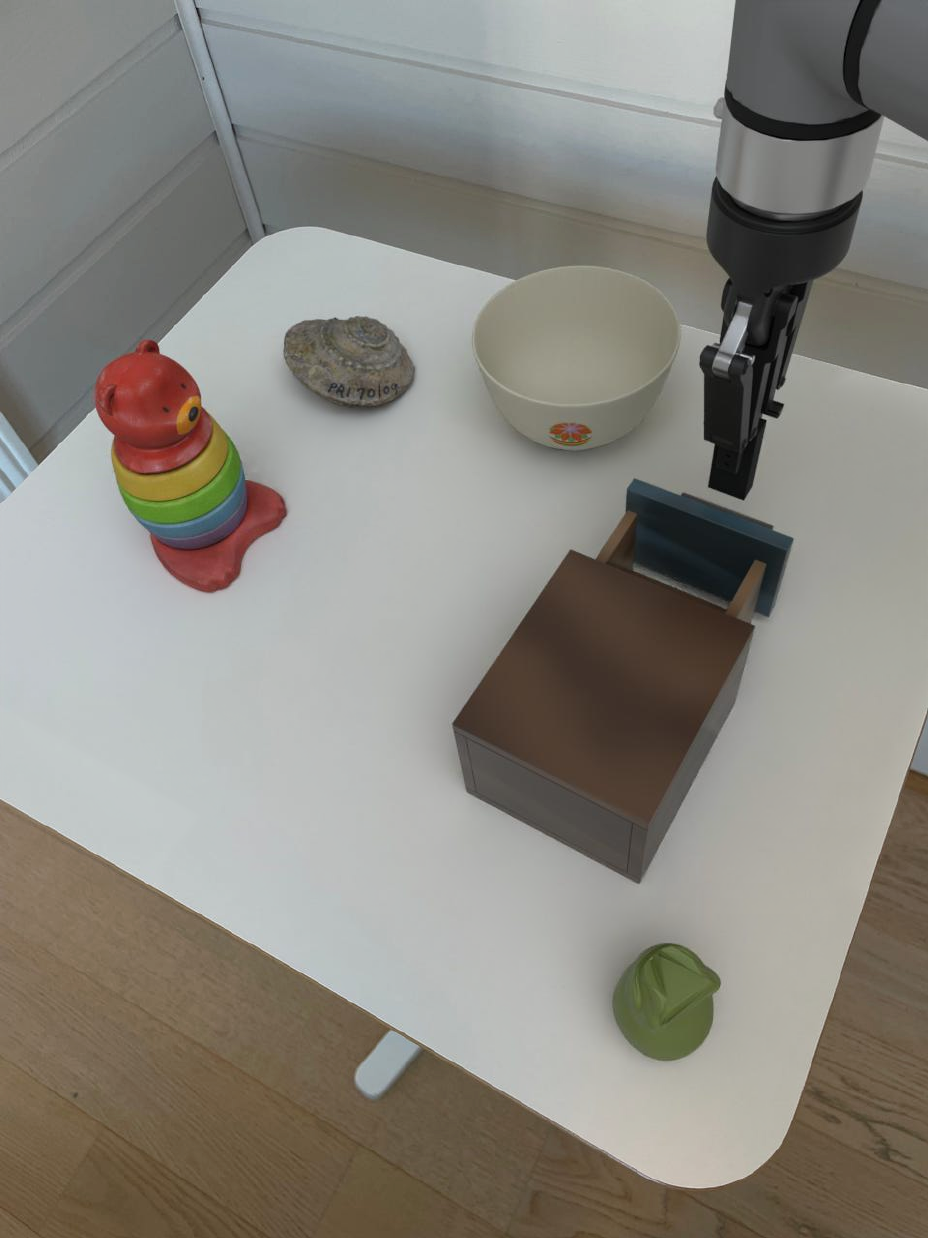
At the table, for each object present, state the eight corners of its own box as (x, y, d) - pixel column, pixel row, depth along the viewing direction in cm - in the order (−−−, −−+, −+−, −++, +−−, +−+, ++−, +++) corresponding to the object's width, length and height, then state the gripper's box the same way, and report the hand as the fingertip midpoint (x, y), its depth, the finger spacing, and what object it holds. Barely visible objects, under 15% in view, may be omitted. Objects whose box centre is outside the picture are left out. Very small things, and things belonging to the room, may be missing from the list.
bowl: (698, 387, 87) (711, 291, 78) (627, 519, 79) (632, 429, 71) (530, 341, 92) (526, 247, 84) (449, 461, 85) (435, 371, 76)
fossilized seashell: (360, 427, 85) (333, 349, 81) (279, 419, 92) (250, 347, 88) (436, 371, 91) (414, 296, 87) (355, 368, 98) (331, 298, 94)
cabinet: (571, 629, 74) (570, 548, 66) (734, 703, 70) (755, 625, 61) (466, 792, 68) (451, 723, 60) (639, 884, 63) (648, 824, 55)
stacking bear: (219, 601, 79) (137, 441, 64) (122, 557, 82) (23, 396, 67) (297, 505, 83) (237, 335, 69) (202, 467, 87) (126, 298, 72)
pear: (669, 953, 61) (683, 899, 52) (728, 1031, 58) (753, 987, 50) (594, 1007, 59) (597, 960, 51) (651, 1089, 57) (663, 1054, 48)
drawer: (653, 509, 78) (660, 437, 72) (796, 564, 74) (818, 494, 68) (541, 682, 71) (538, 620, 64) (695, 755, 67) (708, 696, 60)
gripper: (768, 99, 55) (718, 410, 75) (664, 232, 50) (639, 531, 69) (905, 129, 53) (816, 443, 72) (811, 273, 47) (742, 572, 67)
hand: (730, 486), depth 71 cm, fingers closed
